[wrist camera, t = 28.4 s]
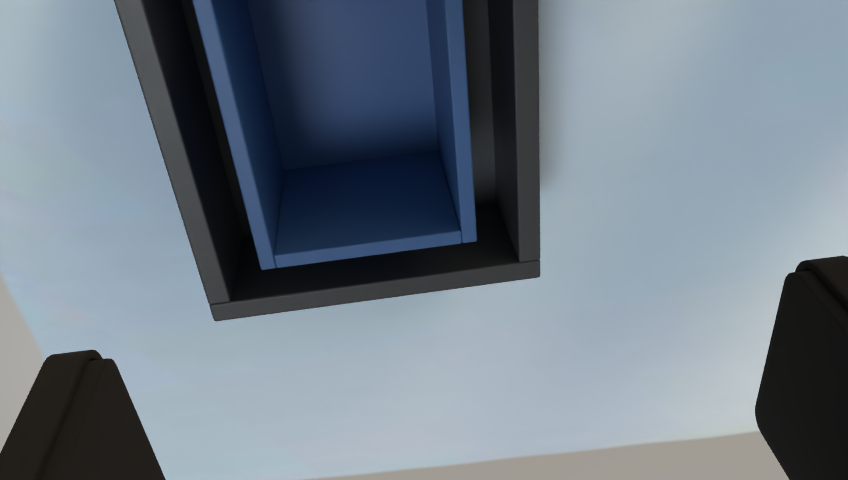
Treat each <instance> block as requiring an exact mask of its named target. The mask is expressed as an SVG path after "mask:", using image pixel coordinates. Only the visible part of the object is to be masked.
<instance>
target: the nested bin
mask: <svg viewBox="0 0 848 480" xmlns="http://www.w3.org/2000/svg"><path fill="white" fill-rule="evenodd" d="M192 1H193V5H194V9H195V13H196V17H197V21H198V25H199V29H200V33H201V37H202V40H203V44H204V48H205V52H206V56H207V60H208V64H209V68H210V72H211V76H212V80H213V83H214V87H215V91H216V95H217V99H218V103H219V107H220V111H221V115H222V119H223V122H224V126H225V130H226V134H227V138H228V142H229V146H230V150H231V154H232V158H233V162H234V165H235V169H236V173H237V177H238V181H239V185H240V189H241V193H242V197H243V201H244V204H245V208H246V212H247V216H248V220H249V224H250V228H251V232H252V236H253V240H254V244H255V247H256V251H257V255H258V259H259V263H260V267H261V269H262V270H265V269H273V268H276V267H277V268H281V267H288V266H296V265H303V264H311V263H318V262H326V261H333V260H341V259H348V258H356V257H363V256H371V255H378V254H386V253H393V252H401V251H408V250H416V249H423V248H431V247H438V246H446V245H453V244H460V243H462V242H463V243H467V242H475V241H477V231H476V214H475V198H474V182H473V166H472V150H471V134H470V118H469V102H468V86H467V70H466V53H465V37H464V21H463V5H462V0H192Z"/></svg>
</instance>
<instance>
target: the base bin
mask: <svg viewBox="0 0 848 480" xmlns="http://www.w3.org/2000/svg"><path fill="white" fill-rule="evenodd" d="M114 2H115V5H116V8H117V12H118V15H119V18H120V21H121V24H122V28H123V31H124V34H125V37H126V40H127V44H128V47H129V50H130V53H131V56H132V60H133V63H134V66H135V69H136V72H137V76H138V79H139V82H140V85H141V88H142V92H143V95H144V98H145V101H146V104H147V108H148V111H149V114H150V117H151V120H152V124H153V127H154V130H155V133H156V136H157V140H158V143H159V146H160V149H161V152H162V156H163V159H164V162H165V165H166V168H167V172H168V175H169V178H170V181H171V184H172V188H173V191H174V194H175V197H176V200H177V204H178V207H179V210H180V213H181V216H182V220H183V223H184V226H185V229H186V232H187V236H188V239H189V242H190V245H191V248H192V252H193V255H194V258H195V261H196V264H197V268H198V271H199V274H200V277H201V280H202V284H203V287H204V290H205V293H206V296H207V300H208V303H209V304H210V309H211V312H212V315H213V318H214V321H222V320H229V319H236V318H244V317H251V316H258V315H266V314H273V313H280V312H288V311H295V310H302V309H310V308H317V307H324V306H332V305H339V304H346V303H354V302H361V301H369V300H376V299H383V298H391V297H398V296H405V295H413V294H420V293H427V292H435V291H442V290H449V289H457V288H464V287H471V286H479V285H486V284H493V283H501V282H508V281H515V280H523V279H530V278H537V277H540V176H539V46H538V0H462V5H463V21H464V37H465V53H466V70H467V86H468V102H469V118H470V134H471V150H472V166H473V182H474V198H475V214H476V231H477V241H475V242H467V243H463V242H462V243H460V244H453V245H446V246H438V247H431V248H423V249H416V250H408V251H401V252H393V253H386V254H378V255H371V256H363V257H356V258H348V259H341V260H333V261H326V262H318V263H311V264H303V265H296V266H288V267H281V268H277V267H276V268H273V269H265V270H262V269H261V267H260V263H259V259H258V255H257V251H256V247H255V244H254V240H253V236H252V232H251V228H250V224H249V220H248V216H247V212H246V208H245V204H244V201H243V197H242V193H241V189H240V185H239V181H238V177H237V173H236V169H235V165H234V162H233V158H232V154H231V150H230V146H229V142H228V138H227V134H226V130H225V126H224V122H223V119H222V115H221V111H220V107H219V103H218V99H217V95H216V91H215V87H214V83H213V80H212V76H211V72H210V68H209V64H208V60H207V56H206V52H205V48H204V44H203V40H202V37H201V33H200V29H199V25H198V21H197V17H196V13H195V9H194V5H193V1H192V0H114Z"/></svg>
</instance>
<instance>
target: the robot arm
mask: <svg viewBox="0 0 848 480" xmlns="http://www.w3.org/2000/svg"><path fill="white" fill-rule="evenodd" d="M755 416H756V421H757V424H758V427H759V430H760V432H761V433H762V435H763V437H764V438H765V440H766V441H767V443H768V445H769V447H770V448H771V450H772V452H773V453H774V455H775V456H776V458H777V460H778V462H779V463H780V465H781V466H782V468H783V470H784V471H785V473H786V475H787V476H788V478H789V480H848V257H846V256H837V257H829V258H821V259H813V260H806V261H803V262H801V263H800V264H799V265H798V266H797V268H796V271H795V272H793V273H789V274H788V275H787V276H786V279H785V281H784V285H783V290H782V294H781V298H780V302H779V307H778V311H777V315H776V320H775V324H774V328H773V333H772V337H771V341H770V345H769V350H768V354H767V358H766V363H765V367H764V371H763V376H762V380H761V384H760V388H759V393H758V397H757V401H756V406H755ZM0 480H165V477H164V475H163V473H162V470H161V468H160V466H159V463H158V461H157V459H156V456H155V454H154V452H153V449H152V447H151V445H150V442H149V440H148V438H147V435H146V433H145V431H144V428H143V426H142V424H141V421H140V419H139V417H138V414H137V412H136V410H135V407H134V405H133V403H132V400H131V398H130V396H129V393H128V391H127V389H126V386H125V384H124V382H123V379H122V377H121V375H120V372H119V370H118V368H117V366H116V364H115V362H114V361H113V360H112V359H102V357H101V355H100V354H99V353H98V352H97V351H96V350H86V351H78V352H70V353H62V354H54V355H51V356H49V357H47V359H46V360H45V362H44V363H43V365H42V367H41V369H40V371H39V374H38V376H37V378H36V380H35V382H34V384H33V386H32V388H31V390H30V392H29V395H28V397H27V399H26V401H25V403H24V405H23V407H22V409H21V411H20V413H19V415H18V417H17V419H16V422H15V424H14V426H13V428H12V430H11V432H10V434H9V436H8V438H7V440H6V443H5V445H4V447H3V449H2V451H1V453H0Z"/></svg>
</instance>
